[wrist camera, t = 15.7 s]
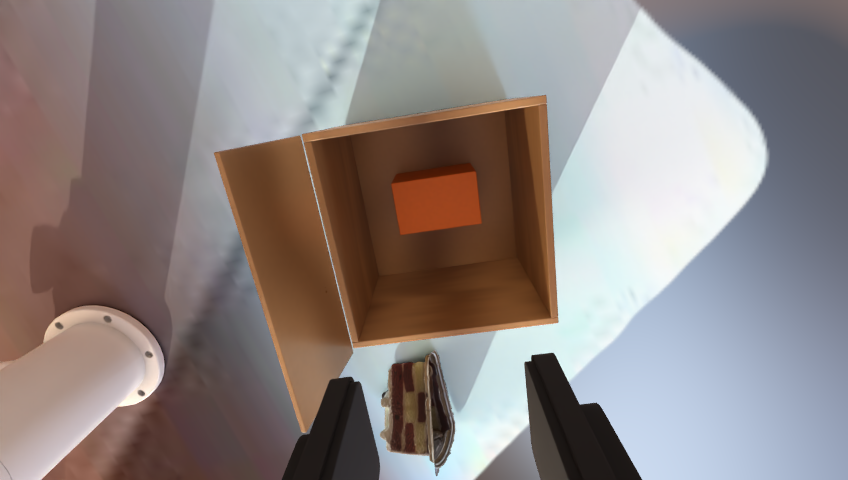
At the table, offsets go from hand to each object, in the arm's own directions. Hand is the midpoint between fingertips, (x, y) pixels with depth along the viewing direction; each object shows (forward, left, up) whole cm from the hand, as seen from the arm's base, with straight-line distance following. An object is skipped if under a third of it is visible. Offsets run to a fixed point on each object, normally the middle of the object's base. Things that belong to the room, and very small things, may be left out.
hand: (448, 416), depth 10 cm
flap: (-8, 0, -13) cm, 15 cm away
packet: (0, 0, -29) cm, 29 cm away
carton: (0, 0, -29) cm, 29 cm away
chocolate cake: (-6, -23, -30) cm, 38 cm away
